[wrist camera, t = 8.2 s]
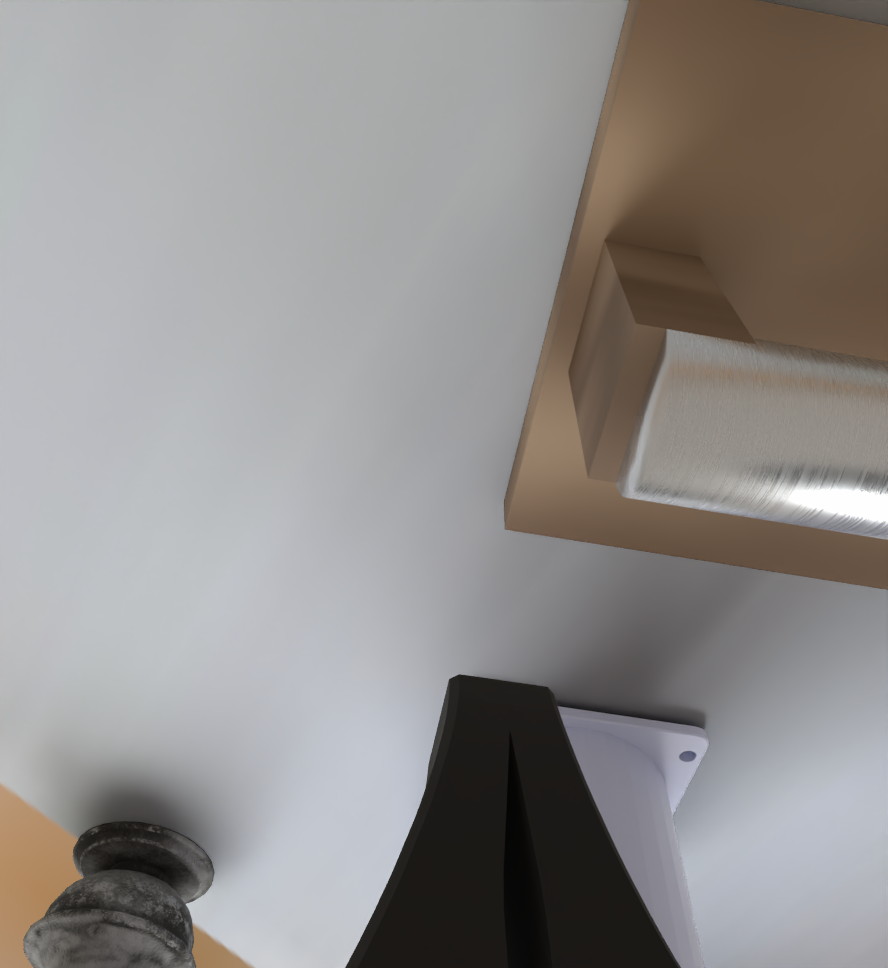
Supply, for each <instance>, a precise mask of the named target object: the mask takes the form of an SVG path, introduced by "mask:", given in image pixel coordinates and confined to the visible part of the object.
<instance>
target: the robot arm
mask: <svg viewBox="0 0 888 968" xmlns="http://www.w3.org/2000/svg"><path fill="white" fill-rule="evenodd" d="M708 746H709V741H708V737H707V734H706V732H705V731H704V730H703V729H702V728H699V727H696V726H689V725H683V724H676V723H669V722H662V721H655V720H648V719H641V718H635V717H628V716H621V715H614V714H607V713H600V712H593V711H587V710H580V709H573V708H566V707H559V706H557V703H556V700H555V697H554V694H553V693H552V692H551V691H550V689H549V688H548V687H543V686H536V685H529V684H522V683H516V682H509V681H502V680H495V679H488V678H481V677H474V676H467V675H460V674H459V675H457V676H455V677H453V678H451V679H449V683H448V687H447V691H446V695H445V699H444V703H443V707H442V711H441V716H440V720H439V724H438V728H437V732H436V736H435V740H434V745H433V749H432V753H431V757H430V761H429V767H428V775H427V783H426V789H425V792H424V795H423V798H422V801H421V804H420V806H419V809H418V812H417V814H416V817H415V820H414V822H413V824H412V827H411V829H410V832H409V834H408V836H407V839H406V841H405V843H404V846H403V848H402V851H401V853H400V855H399V858H398V860H397V863H396V865H395V867H394V870H393V872H392V874H391V876H390V879H389V881H388V883H387V885H386V887H385V889H384V892H383V894H382V896H381V898H380V900H379V902H378V904H377V906H376V909H375V911H374V913H373V915H372V917H371V919H370V921H369V923H368V925H367V927H366V929H365V931H364V933H363V935H362V937H361V939H360V941H359V943H358V945H357V947H356V949H355V951H354V953H353V955H352V956H351V958H350V960H349V962H348V964H347V966H346V968H704V963H703V958H702V954H701V949H700V944H699V940H698V935H697V930H696V925H695V921H694V916H693V911H692V906H691V902H690V897H689V892H688V887H687V883H686V878H685V873H684V868H683V864H682V859H681V854H680V849H679V845H678V840H677V835H676V830H675V826H674V821H673V814H674V812H675V810H676V808H677V806H678V805H679V803H680V801H681V799H682V797H683V795H684V793H685V791H686V789H687V787H688V785H689V783H690V781H691V779H692V777H693V775H694V774H695V772H696V770H697V768H698V766H699V764H700V762H701V760H702V758H703V756H704V754H705V752H706V750H707V748H708Z"/></svg>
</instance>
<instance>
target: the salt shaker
mask: <svg viewBox="0 0 888 968" xmlns="http://www.w3.org/2000/svg"><path fill="white" fill-rule="evenodd" d="M73 861H74V863H75V866H76V868H77V870H78V872H79V873H80V874H81V876H82V877H83V879H81V880H78V881H76V882H75V883H73V884H72V885H71V886H69V887H68V888H67V889H66V890H65V891H64V892H63V893H62V894H61V895H60V896H59V897H58V898H57V899H56V900H55V901H54V902H53V903H52V904H51V905H50V907H49V909H48V910H47V912H46V914H45V916H44V917H43V918H42V919H40V920H39V921H37V922H36V923H34V924H33V925H31V926H30V928H29V930H28V932H27V933H26V935H25V937H24V953H25V955H26V957H27V958H28V960H29V962H30V964H31V965H32V966H33V967H34V968H196V964H195V961H194V957H193V954H192V948H193V943H194V936H193V927H192V918H191V915H190V912H189V909H188V908H187V906H186V905H185V904H186V903H189V902H192V901H194V900H196V899H197V898H199V897H201V896H202V895H204V894H205V893H206V892H207V890H208V889H209V888H210V887H211V885H212V881H213V876H214V870H213V866H212V862H211V861H210V859H209V858H208V856H207V855H206V853H205V852H204V851H203V850H202V849H201V848H200V847H198V846H197V845H196V844H195V843H194V842H193V841H191V840H189V839H187V838H185V837H184V836H182V835H180V834H178V833H176V832H173V831H171V830H168V829H165V828H162V827H159V826H155V825H149V824H144V823H135V822H117V823H110V824H103V825H101V826H98V827H95V828H92V829H90V830H89V831H87V832H86V833H85V834H83V835H82V836H81V837H80V838H79V840H78V841H77V843H76V845H75V847H74V849H73Z"/></svg>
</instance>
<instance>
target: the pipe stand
mask: <svg viewBox="0 0 888 968" xmlns="http://www.w3.org/2000/svg"><path fill="white" fill-rule="evenodd" d="M504 518H505V529H506V530H512V531H518V532H525V533H531V534H537V535H544V536H550V537H556V538H563V539H569V540H575V541H582V542H588V543H594V544H601V545H607V546H614V547H620V548H626V549H633V550H639V551H645V552H652V553H658V554H664V555H671V556H677V557H683V558H690V559H696V560H703V561H709V562H715V563H722V564H728V565H734V566H741V567H747V568H753V569H760V570H766V571H772V572H779V573H785V574H791V575H798V576H804V577H811V578H817V579H823V580H830V581H836V582H842V583H849V584H855V585H861V586H868V587H874V588H880V589H887V590H888V26H887V25H881V24H876V23H871V22H866V21H861V20H856V19H851V18H846V17H841V16H836V15H831V14H826V13H821V12H815V11H810V10H805V9H800V8H795V7H790V6H785V5H780V4H775V3H770V2H765V1H760V0H629V3H628V7H627V11H626V15H625V19H624V23H623V27H622V31H621V35H620V39H619V43H618V47H617V51H616V55H615V59H614V63H613V67H612V71H611V75H610V79H609V83H608V87H607V91H606V95H605V99H604V103H603V107H602V111H601V115H600V119H599V123H598V127H597V131H596V135H595V139H594V143H593V147H592V151H591V156H590V160H589V164H588V168H587V172H586V176H585V180H584V184H583V188H582V192H581V196H580V200H579V204H578V208H577V212H576V216H575V220H574V224H573V228H572V232H571V236H570V240H569V244H568V248H567V252H566V256H565V260H564V264H563V268H562V272H561V276H560V280H559V284H558V288H557V292H556V296H555V300H554V304H553V308H552V312H551V316H550V320H549V324H548V328H547V332H546V336H545V340H544V344H543V348H542V352H541V356H540V360H539V364H538V368H537V372H536V376H535V380H534V384H533V388H532V392H531V396H530V400H529V404H528V408H527V412H526V416H525V420H524V424H523V428H522V432H521V436H520V440H519V444H518V448H517V452H516V456H515V460H514V464H513V468H512V472H511V476H510V480H509V484H508V488H507V492H506V496H505V500H504Z"/></svg>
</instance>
